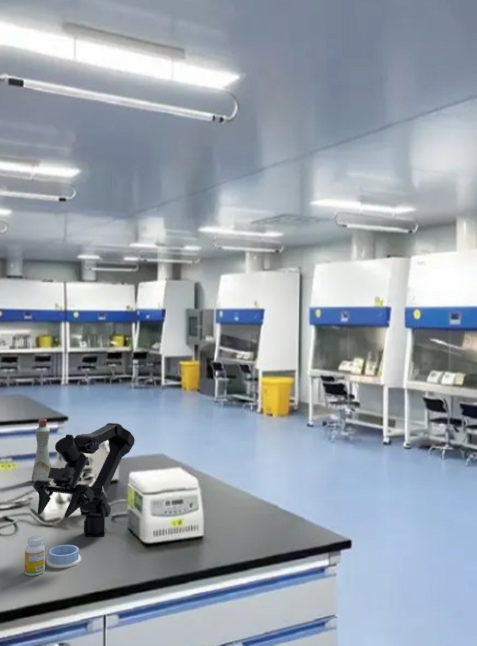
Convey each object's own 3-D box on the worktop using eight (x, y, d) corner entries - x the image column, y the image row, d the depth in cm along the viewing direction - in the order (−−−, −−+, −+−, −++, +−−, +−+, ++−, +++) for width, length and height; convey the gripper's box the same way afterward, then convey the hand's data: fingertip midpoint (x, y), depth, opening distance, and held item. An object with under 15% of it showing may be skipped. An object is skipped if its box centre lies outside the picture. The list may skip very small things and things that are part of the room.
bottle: (27, 483, 266) (28, 418, 266) (37, 477, 275) (38, 415, 275) (46, 484, 265) (46, 419, 264) (55, 478, 273) (56, 416, 273)
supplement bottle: (27, 568, 177) (27, 534, 177) (46, 568, 178) (46, 534, 177) (22, 576, 172) (22, 541, 172) (42, 575, 172) (42, 541, 172)
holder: (82, 554, 188) (83, 543, 188) (78, 567, 178) (78, 556, 178) (49, 555, 187) (49, 544, 187) (43, 568, 177) (43, 557, 177)
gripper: (36, 453, 190) (13, 499, 180) (89, 458, 184) (68, 506, 174) (51, 472, 198) (29, 517, 187) (102, 478, 192) (83, 524, 182)
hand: (51, 516), depth 182 cm, fingers open, 9 cm apart
